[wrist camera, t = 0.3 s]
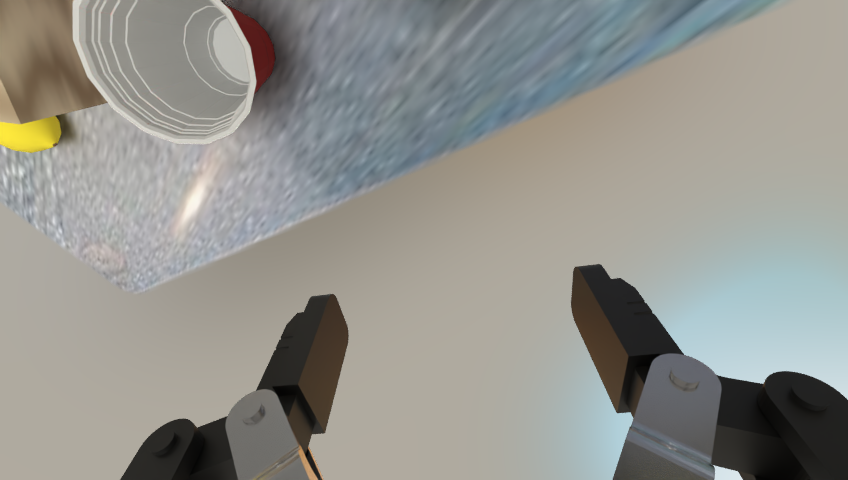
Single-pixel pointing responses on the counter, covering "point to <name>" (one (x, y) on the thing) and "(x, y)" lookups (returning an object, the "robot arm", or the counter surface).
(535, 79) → the counter surface
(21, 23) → the shelf rack
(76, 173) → the counter surface
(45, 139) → the lemon
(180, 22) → the plastic cup
